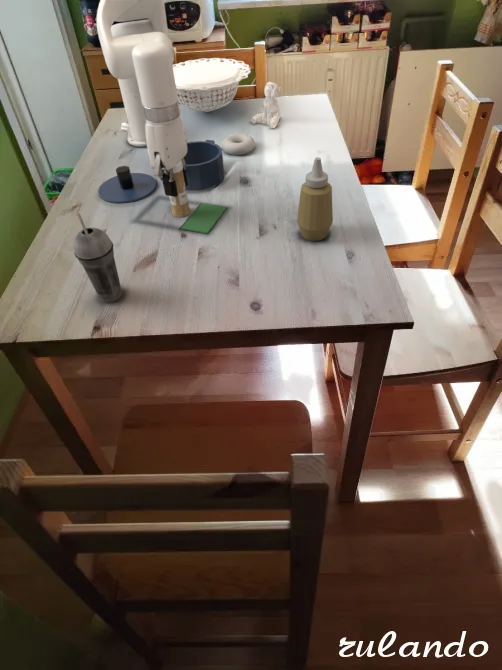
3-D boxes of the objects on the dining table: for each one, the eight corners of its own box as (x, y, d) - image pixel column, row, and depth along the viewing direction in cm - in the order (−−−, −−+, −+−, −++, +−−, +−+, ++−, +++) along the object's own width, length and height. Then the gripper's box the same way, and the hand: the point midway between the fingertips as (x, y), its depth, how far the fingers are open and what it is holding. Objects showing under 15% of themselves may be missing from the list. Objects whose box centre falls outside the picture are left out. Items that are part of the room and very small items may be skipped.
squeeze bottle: (290, 229, 108) (291, 154, 95) (321, 221, 110) (326, 146, 97) (305, 248, 103) (308, 171, 90) (338, 238, 104) (345, 162, 92)
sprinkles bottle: (191, 216, 114) (182, 164, 104) (173, 219, 114) (162, 167, 104) (189, 206, 117) (180, 155, 108) (171, 210, 117) (160, 158, 107)
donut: (221, 158, 137) (255, 156, 136) (220, 146, 134) (254, 144, 133) (223, 143, 143) (255, 141, 143) (222, 132, 141) (254, 130, 140)
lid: (87, 200, 123) (80, 179, 119) (119, 173, 133) (113, 152, 129) (138, 209, 119) (132, 187, 114) (167, 180, 128) (162, 159, 124)
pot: (157, 193, 124) (152, 166, 119) (190, 160, 137) (187, 134, 131) (206, 200, 120) (203, 173, 114) (236, 165, 132) (234, 140, 127)
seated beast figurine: (250, 123, 153) (248, 84, 144) (265, 114, 157) (264, 75, 149) (273, 129, 149) (272, 89, 140) (288, 119, 153) (288, 80, 144)
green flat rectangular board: (134, 221, 115) (134, 219, 114) (158, 197, 122) (158, 196, 122) (207, 234, 109) (207, 232, 109) (227, 208, 116) (227, 206, 116)
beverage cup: (130, 282, 98) (103, 197, 83) (125, 305, 93) (95, 218, 78) (96, 284, 98) (64, 199, 84) (89, 308, 93) (53, 221, 78)
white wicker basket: (263, 97, 169) (262, 58, 159) (238, 133, 148) (235, 91, 139) (182, 94, 176) (176, 56, 167) (147, 128, 155) (139, 87, 146)
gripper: (165, 95, 104) (179, 172, 117) (125, 125, 93) (145, 205, 107) (195, 98, 102) (205, 175, 115) (157, 128, 91) (174, 210, 104)
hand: (176, 189), depth 111 cm, fingers closed on sprinkles bottle, 4 cm apart
